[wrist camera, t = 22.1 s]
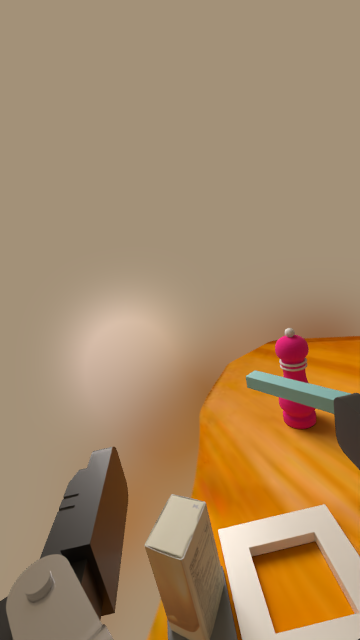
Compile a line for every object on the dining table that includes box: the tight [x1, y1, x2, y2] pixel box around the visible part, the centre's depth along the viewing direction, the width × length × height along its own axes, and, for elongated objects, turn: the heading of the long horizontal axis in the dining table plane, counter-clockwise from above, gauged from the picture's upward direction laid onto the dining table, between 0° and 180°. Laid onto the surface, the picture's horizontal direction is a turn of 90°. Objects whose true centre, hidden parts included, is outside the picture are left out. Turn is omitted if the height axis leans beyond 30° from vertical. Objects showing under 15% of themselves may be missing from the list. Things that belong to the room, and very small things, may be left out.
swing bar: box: [246, 371, 350, 414], centre depth 36 cm, size 21×3×2 cm, turn 39°
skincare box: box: [145, 494, 224, 640], centre depth 31 cm, size 6×4×12 cm
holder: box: [218, 504, 360, 640], centre depth 31 cm, size 24×15×17 cm, turn 94°
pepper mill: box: [275, 328, 316, 429], centre depth 58 cm, size 7×7×20 cm
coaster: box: [168, 566, 237, 640], centre depth 33 cm, size 7×7×1 cm
